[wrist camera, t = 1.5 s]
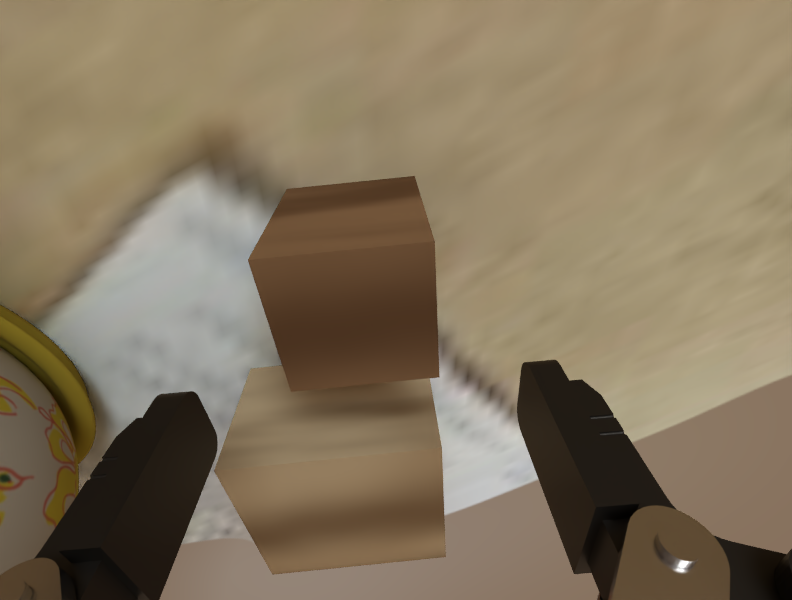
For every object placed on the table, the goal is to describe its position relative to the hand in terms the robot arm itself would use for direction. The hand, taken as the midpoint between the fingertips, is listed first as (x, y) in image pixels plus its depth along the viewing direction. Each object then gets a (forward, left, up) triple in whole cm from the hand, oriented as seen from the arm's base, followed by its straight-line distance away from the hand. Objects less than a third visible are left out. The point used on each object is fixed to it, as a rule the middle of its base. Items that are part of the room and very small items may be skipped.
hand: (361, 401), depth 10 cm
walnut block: (0, 0, -9) cm, 9 cm away
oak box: (+11, -2, -9) cm, 14 cm away
